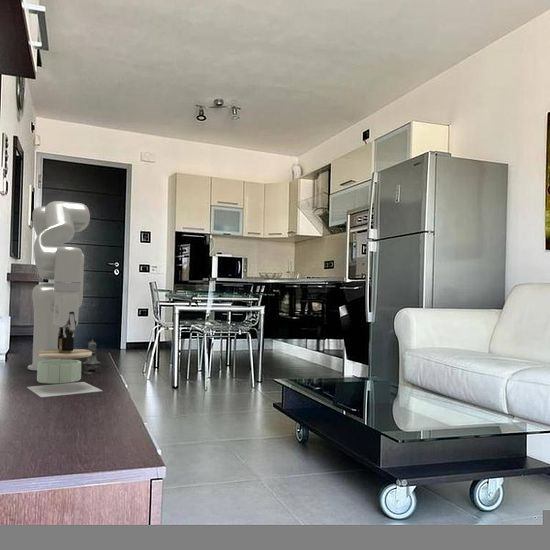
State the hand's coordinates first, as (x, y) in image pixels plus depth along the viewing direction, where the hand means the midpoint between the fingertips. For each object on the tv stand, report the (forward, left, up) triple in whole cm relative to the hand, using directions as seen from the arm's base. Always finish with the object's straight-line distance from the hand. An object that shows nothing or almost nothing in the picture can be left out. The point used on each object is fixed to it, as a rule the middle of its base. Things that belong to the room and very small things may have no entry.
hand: (65, 349), depth 155 cm
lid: (0, 0, -2) cm, 2 cm away
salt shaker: (-27, +17, -12) cm, 34 cm away
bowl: (-16, +3, -12) cm, 20 cm away
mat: (+1, 0, -12) cm, 12 cm away
